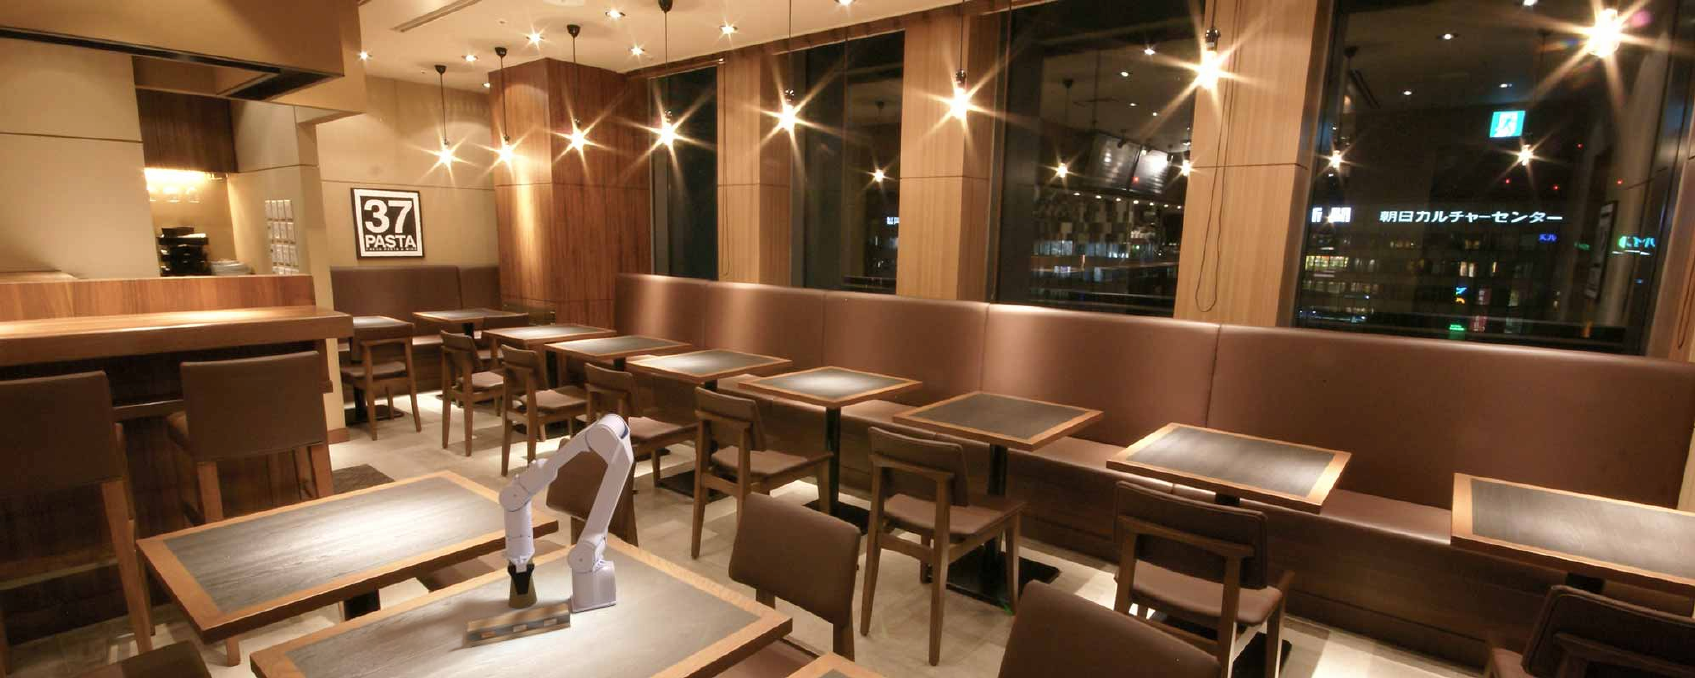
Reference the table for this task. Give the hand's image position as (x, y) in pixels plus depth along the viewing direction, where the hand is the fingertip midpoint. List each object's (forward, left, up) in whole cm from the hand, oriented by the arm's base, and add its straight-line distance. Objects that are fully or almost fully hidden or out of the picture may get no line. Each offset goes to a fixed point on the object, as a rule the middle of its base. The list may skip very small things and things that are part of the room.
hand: (522, 588), depth 171 cm
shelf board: (+1, +11, -3) cm, 12 cm away
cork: (0, 0, -4) cm, 4 cm away
